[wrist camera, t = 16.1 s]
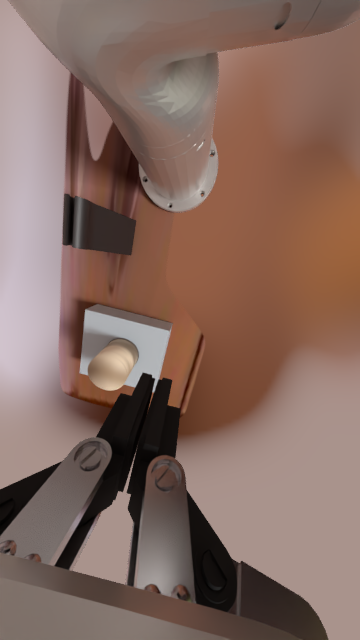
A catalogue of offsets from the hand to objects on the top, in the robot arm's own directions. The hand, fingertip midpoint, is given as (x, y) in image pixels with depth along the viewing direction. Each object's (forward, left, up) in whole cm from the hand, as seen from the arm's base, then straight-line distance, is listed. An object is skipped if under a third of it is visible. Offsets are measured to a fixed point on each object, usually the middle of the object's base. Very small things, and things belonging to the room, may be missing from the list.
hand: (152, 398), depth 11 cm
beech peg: (+13, -9, -29) cm, 33 cm away
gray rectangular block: (+13, -9, -29) cm, 33 cm away
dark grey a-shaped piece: (-8, -16, -29) cm, 34 cm away
